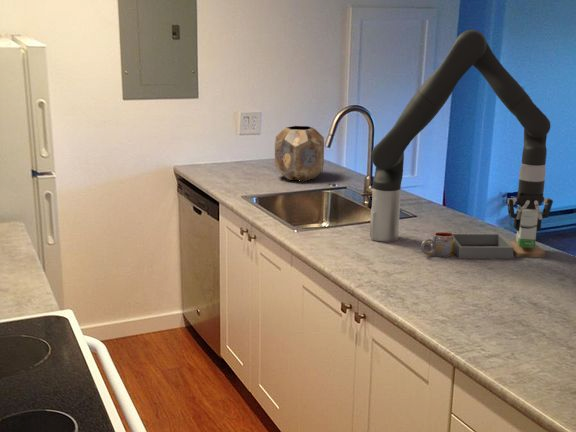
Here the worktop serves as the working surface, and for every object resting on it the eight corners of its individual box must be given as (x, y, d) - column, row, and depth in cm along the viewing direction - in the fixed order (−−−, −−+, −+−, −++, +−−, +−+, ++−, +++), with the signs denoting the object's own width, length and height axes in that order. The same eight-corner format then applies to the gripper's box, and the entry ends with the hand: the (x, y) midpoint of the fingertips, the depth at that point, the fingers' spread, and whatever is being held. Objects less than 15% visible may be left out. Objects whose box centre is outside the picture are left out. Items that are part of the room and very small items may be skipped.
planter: (271, 183, 315) (271, 131, 309) (280, 172, 338) (280, 123, 332) (319, 185, 312) (320, 132, 305) (326, 174, 335) (326, 124, 329)
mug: (445, 249, 224) (446, 229, 222) (458, 255, 217) (459, 235, 216) (413, 254, 219) (414, 234, 217) (426, 260, 213) (427, 239, 211)
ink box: (535, 248, 217) (539, 211, 214) (518, 247, 218) (522, 210, 215) (531, 240, 225) (535, 204, 222) (515, 239, 226) (519, 203, 223)
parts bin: (458, 258, 215) (459, 247, 214) (448, 243, 229) (449, 233, 228) (512, 258, 215) (513, 247, 214) (498, 243, 229) (499, 233, 228)
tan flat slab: (516, 256, 216) (517, 253, 216) (505, 245, 228) (505, 241, 228) (545, 257, 216) (546, 253, 216) (532, 245, 228) (533, 241, 227)
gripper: (512, 180, 212) (507, 233, 217) (559, 180, 212) (553, 233, 217) (505, 175, 219) (500, 226, 224) (550, 175, 219) (545, 227, 224)
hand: (526, 230), depth 220 cm, fingers closed on ink box, 5 cm apart
